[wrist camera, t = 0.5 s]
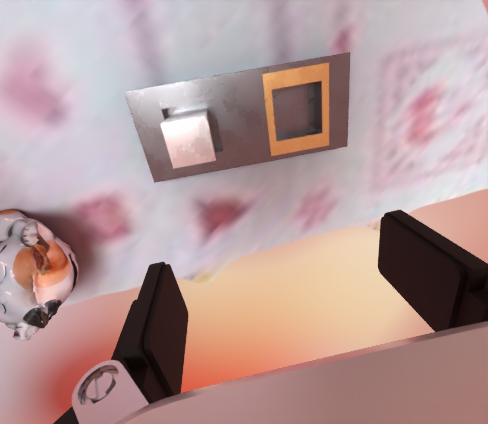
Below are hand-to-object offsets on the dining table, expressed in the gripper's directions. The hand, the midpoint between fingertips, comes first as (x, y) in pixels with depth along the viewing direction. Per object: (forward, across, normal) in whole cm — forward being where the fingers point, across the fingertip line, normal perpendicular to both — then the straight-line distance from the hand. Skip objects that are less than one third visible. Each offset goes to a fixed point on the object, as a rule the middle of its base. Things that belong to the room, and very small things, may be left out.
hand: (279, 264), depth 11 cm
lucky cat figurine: (+25, +30, +8) cm, 39 cm away
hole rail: (+24, -2, -4) cm, 25 cm away
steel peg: (+24, +4, -4) cm, 24 cm away
